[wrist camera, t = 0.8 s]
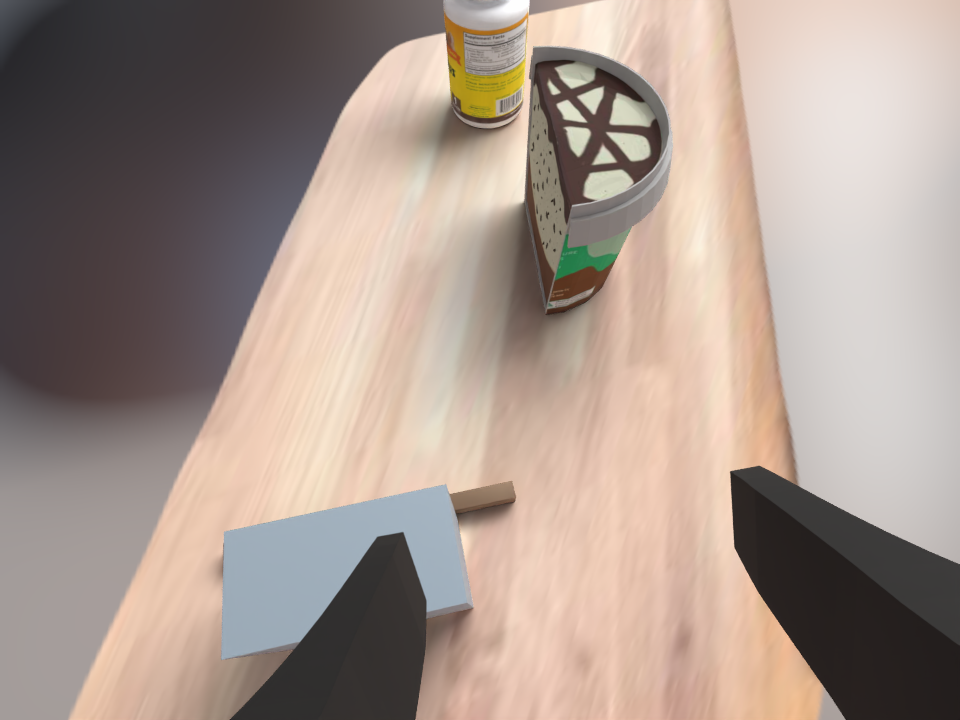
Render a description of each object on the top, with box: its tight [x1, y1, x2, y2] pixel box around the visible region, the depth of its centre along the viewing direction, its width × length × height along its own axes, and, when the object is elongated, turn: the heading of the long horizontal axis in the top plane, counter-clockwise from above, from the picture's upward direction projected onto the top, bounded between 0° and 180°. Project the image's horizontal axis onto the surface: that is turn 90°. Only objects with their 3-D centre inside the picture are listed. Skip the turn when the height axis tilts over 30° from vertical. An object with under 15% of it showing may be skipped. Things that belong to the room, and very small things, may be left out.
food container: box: [524, 46, 673, 315], centre depth 28 cm, size 12×6×10 cm, turn 6°
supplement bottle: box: [444, 0, 529, 128], centre depth 35 cm, size 6×6×10 cm
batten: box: [223, 481, 516, 561], centre depth 25 cm, size 1×14×1 cm, turn 102°
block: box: [221, 484, 474, 660], centre depth 21 cm, size 4×8×8 cm, turn 102°
